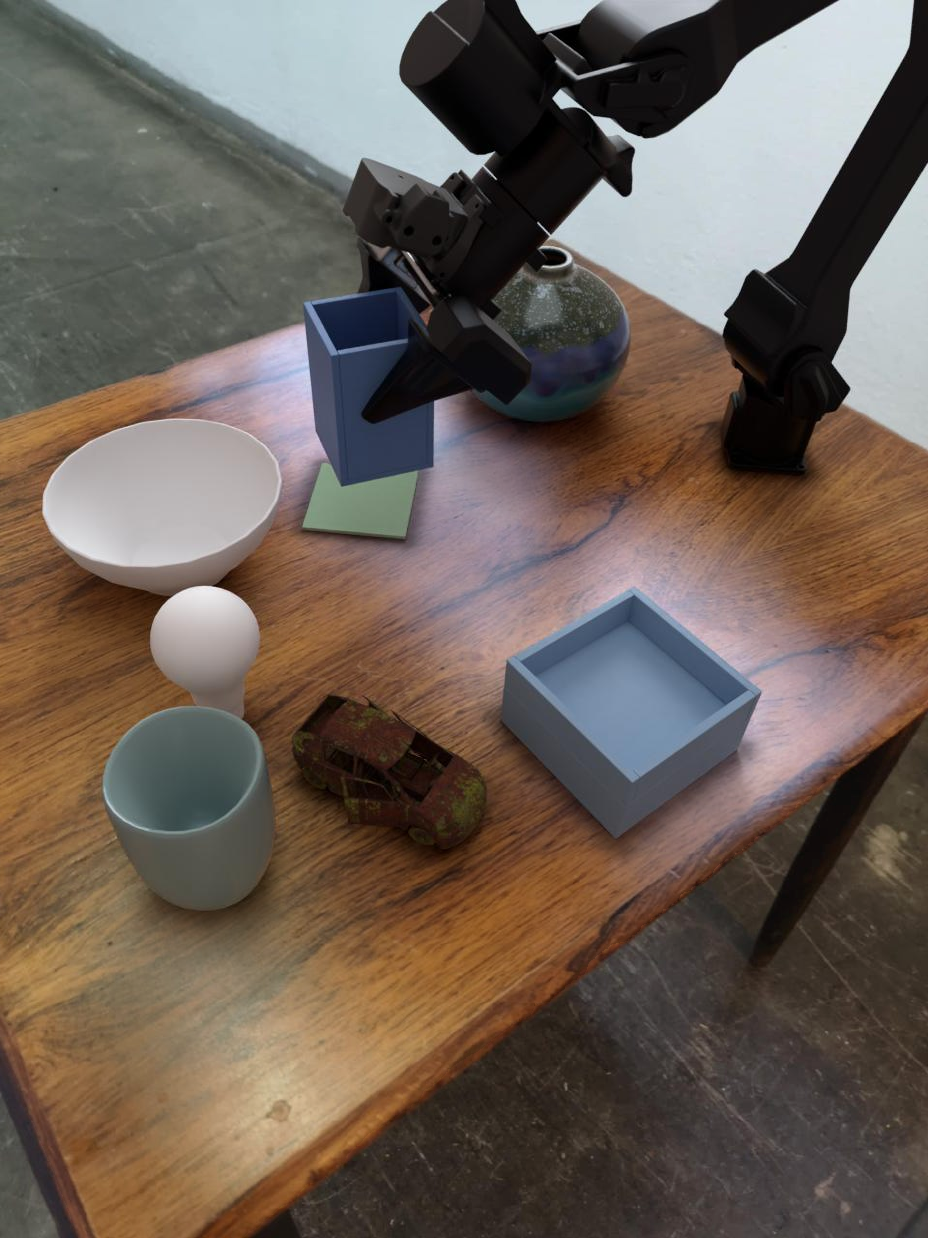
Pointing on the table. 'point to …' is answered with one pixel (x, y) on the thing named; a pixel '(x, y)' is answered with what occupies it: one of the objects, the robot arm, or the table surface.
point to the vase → (562, 338)
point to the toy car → (389, 772)
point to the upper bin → (364, 385)
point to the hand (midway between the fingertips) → (350, 390)
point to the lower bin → (626, 708)
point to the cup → (192, 805)
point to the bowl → (164, 503)
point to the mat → (361, 505)
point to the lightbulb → (207, 645)
